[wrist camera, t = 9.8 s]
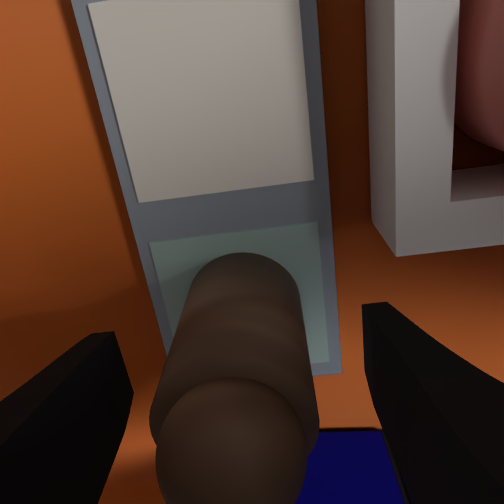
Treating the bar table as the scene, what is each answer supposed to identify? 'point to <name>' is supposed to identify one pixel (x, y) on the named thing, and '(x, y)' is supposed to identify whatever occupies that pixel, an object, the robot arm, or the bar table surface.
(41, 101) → the bar table surface
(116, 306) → the bar table surface
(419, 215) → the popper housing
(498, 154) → the bar table surface
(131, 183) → the board
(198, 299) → the pawn
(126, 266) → the bar table surface
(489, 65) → the button
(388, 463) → the puzzle cube
